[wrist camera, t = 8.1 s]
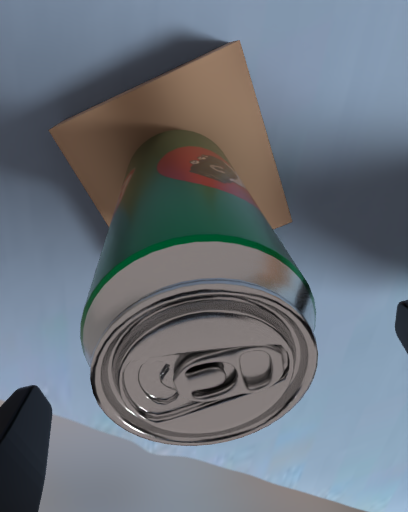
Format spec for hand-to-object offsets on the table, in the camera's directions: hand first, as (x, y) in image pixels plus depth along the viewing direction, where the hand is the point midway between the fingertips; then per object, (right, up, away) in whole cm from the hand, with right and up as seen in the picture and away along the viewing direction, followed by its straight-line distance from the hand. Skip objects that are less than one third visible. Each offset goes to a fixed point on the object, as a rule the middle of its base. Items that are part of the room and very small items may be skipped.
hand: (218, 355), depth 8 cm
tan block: (-2, +7, +10) cm, 13 cm away
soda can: (-2, +6, +9) cm, 11 cm away
